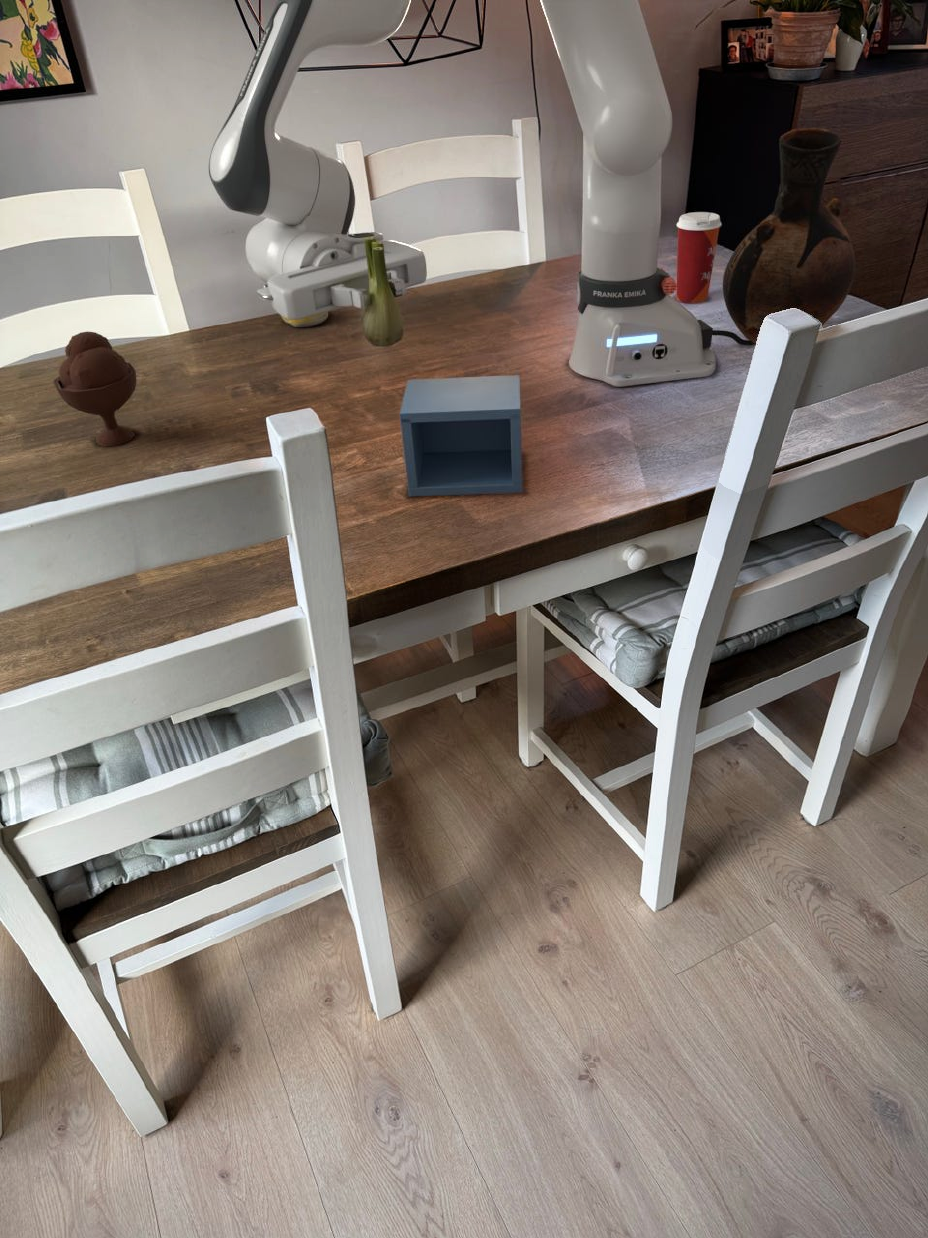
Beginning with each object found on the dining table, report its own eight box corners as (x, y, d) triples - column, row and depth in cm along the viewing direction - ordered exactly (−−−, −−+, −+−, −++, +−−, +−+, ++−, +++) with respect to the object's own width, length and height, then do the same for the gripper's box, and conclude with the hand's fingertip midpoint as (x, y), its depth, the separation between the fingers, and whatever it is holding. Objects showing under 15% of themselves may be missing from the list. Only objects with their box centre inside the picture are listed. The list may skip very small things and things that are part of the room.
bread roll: (301, 331, 156) (297, 309, 154) (276, 320, 162) (271, 299, 159) (338, 319, 160) (335, 297, 158) (312, 309, 166) (309, 288, 163)
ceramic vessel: (790, 312, 148) (824, 114, 130) (868, 342, 136) (918, 127, 117) (691, 337, 142) (712, 132, 123) (763, 371, 129) (799, 148, 111)
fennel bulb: (399, 352, 101) (386, 245, 94) (359, 352, 102) (343, 247, 95) (409, 334, 106) (398, 231, 99) (371, 334, 107) (357, 232, 99)
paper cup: (717, 303, 154) (727, 220, 146) (674, 306, 155) (681, 223, 146) (708, 290, 160) (717, 209, 152) (666, 292, 161) (673, 212, 152)
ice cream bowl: (62, 442, 124) (23, 340, 115) (131, 415, 131) (99, 316, 121) (98, 462, 118) (60, 357, 109) (168, 433, 125) (137, 331, 115)
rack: (521, 455, 113) (519, 374, 106) (522, 493, 105) (520, 408, 98) (416, 458, 114) (407, 379, 107) (409, 496, 106) (399, 413, 99)
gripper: (244, 264, 102) (300, 288, 93) (386, 228, 111) (450, 246, 102) (256, 317, 106) (311, 345, 97) (392, 278, 115) (454, 300, 106)
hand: (383, 294), depth 100 cm, fingers closed on fennel bulb, 3 cm apart
